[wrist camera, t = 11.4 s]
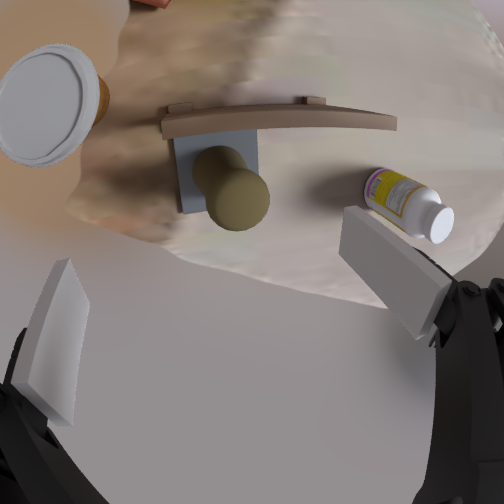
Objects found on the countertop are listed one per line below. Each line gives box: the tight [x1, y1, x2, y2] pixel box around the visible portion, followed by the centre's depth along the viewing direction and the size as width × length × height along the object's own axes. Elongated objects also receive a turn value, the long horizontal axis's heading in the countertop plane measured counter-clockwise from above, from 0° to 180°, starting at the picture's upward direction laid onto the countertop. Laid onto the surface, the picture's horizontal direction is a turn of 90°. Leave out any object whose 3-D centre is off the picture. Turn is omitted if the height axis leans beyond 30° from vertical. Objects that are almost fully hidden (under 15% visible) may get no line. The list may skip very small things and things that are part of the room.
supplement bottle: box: [364, 168, 454, 244], centre depth 33 cm, size 7×7×13 cm
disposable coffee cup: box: [0, 44, 110, 167], centre depth 18 cm, size 10×10×12 cm
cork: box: [192, 145, 270, 231], centre depth 26 cm, size 6×6×11 cm
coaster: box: [173, 129, 259, 214], centre depth 31 cm, size 9×9×1 cm
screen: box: [161, 97, 397, 140], centre depth 23 cm, size 3×18×13 cm, turn 93°
